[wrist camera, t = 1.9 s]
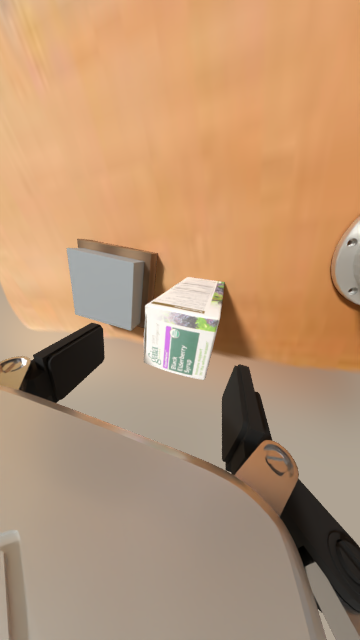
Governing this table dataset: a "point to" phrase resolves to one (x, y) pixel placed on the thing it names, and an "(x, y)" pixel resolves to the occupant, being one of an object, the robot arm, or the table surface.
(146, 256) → the tower base
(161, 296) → the syrup box
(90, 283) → the tower top
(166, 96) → the table surface
